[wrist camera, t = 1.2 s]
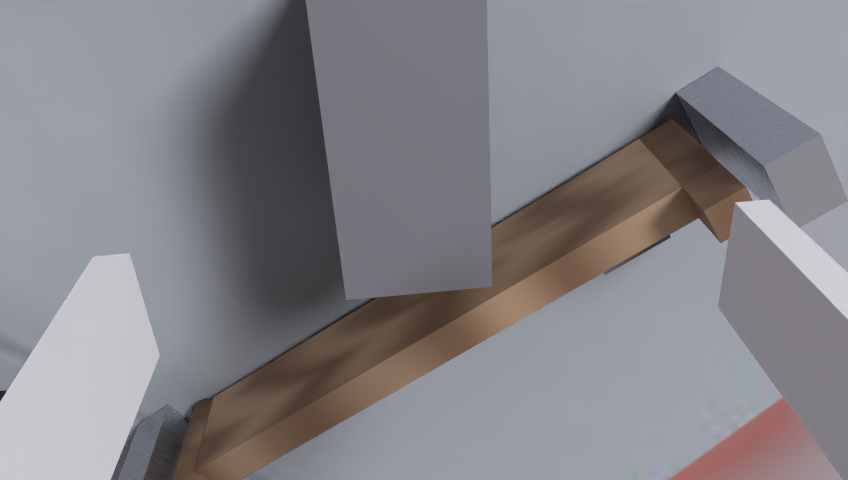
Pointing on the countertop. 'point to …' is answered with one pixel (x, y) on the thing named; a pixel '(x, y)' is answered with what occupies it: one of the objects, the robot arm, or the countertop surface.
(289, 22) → the countertop surface
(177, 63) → the countertop surface
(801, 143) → the grey blocks
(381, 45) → the rubber block
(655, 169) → the gate
